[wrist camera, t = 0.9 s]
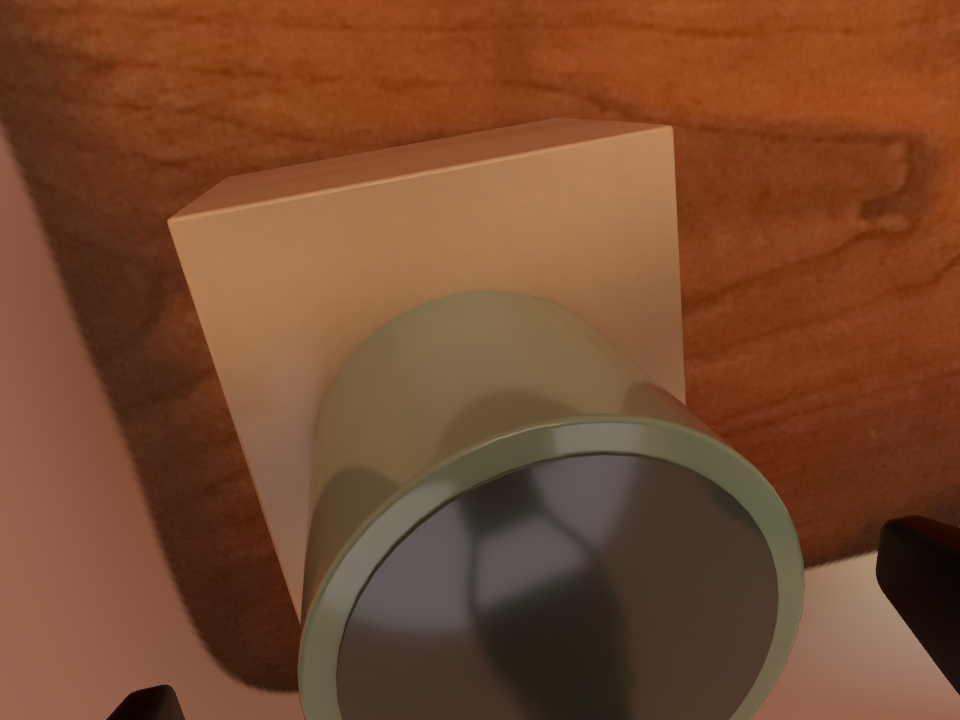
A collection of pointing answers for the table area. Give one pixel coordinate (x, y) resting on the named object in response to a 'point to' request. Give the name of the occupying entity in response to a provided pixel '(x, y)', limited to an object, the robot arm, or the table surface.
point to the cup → (533, 533)
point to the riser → (421, 268)
